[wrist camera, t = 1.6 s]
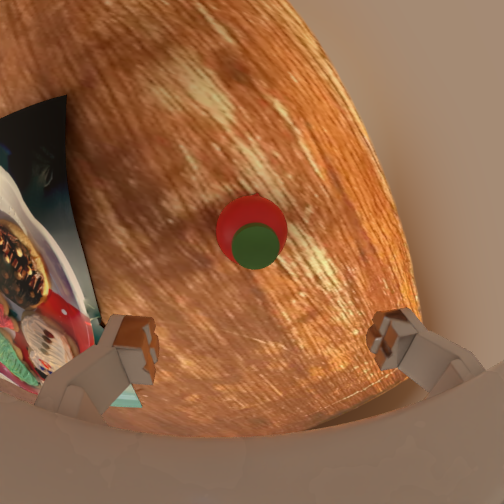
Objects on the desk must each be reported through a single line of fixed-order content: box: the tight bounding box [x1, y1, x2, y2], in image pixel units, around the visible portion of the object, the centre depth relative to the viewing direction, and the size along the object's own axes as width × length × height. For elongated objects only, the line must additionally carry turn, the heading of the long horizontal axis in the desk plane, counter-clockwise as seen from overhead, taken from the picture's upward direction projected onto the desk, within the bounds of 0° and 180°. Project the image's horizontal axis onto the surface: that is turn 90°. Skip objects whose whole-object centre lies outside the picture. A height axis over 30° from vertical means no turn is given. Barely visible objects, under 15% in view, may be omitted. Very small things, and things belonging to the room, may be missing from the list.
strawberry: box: [216, 193, 287, 270], centre depth 17 cm, size 4×4×5 cm
